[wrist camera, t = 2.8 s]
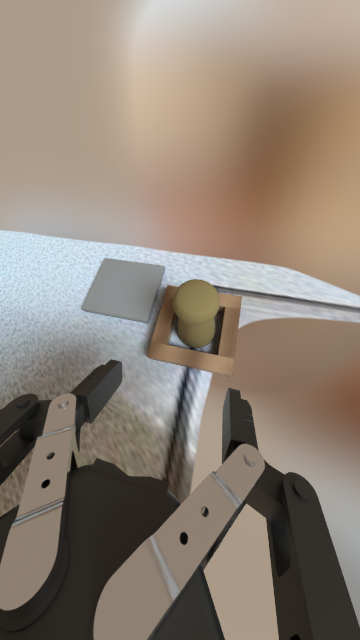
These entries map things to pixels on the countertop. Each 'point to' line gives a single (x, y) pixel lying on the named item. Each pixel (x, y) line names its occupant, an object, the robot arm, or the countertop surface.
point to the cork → (196, 312)
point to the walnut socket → (192, 358)
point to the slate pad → (125, 290)
